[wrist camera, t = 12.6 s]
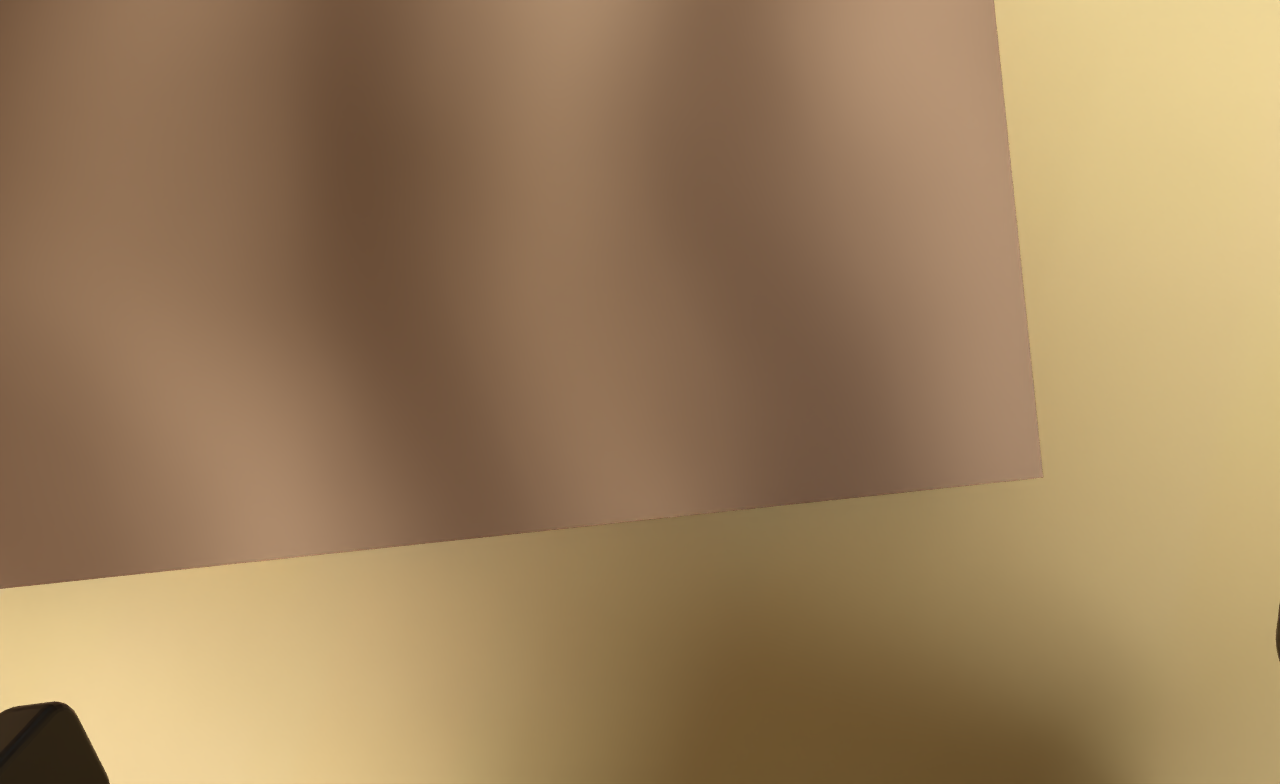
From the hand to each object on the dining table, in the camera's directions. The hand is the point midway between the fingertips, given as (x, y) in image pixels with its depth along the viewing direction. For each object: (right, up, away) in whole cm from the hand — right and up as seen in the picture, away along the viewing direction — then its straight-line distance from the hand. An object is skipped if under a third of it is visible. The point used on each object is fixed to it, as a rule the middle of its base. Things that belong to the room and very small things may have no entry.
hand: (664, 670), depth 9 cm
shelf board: (-4, +8, +12) cm, 16 cm away
